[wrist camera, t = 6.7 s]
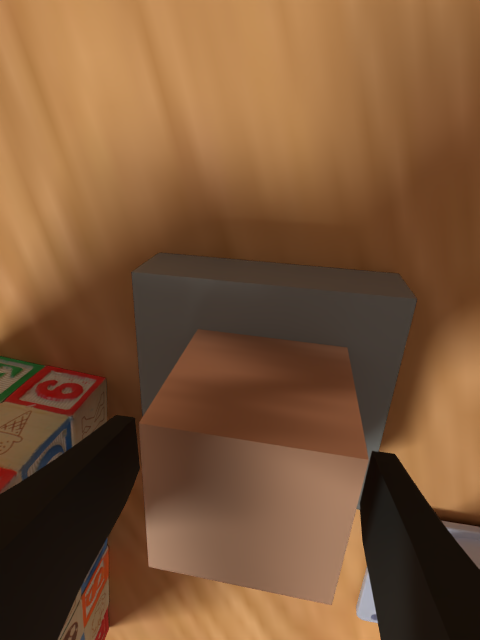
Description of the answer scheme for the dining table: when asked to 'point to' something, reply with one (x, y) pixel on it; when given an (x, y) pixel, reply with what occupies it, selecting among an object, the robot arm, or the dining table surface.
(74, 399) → the stack of blocks
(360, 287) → the charcoal slab
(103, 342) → the dining table surface
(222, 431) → the terracotta cube
